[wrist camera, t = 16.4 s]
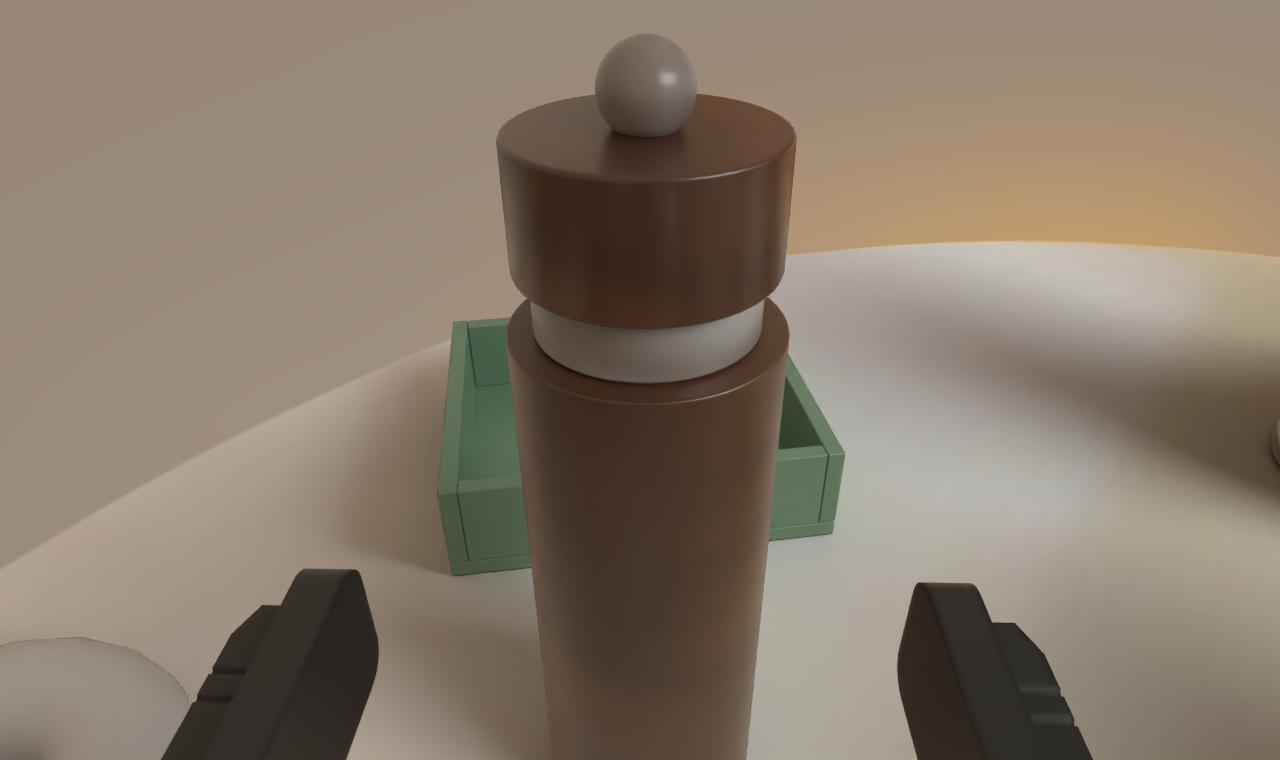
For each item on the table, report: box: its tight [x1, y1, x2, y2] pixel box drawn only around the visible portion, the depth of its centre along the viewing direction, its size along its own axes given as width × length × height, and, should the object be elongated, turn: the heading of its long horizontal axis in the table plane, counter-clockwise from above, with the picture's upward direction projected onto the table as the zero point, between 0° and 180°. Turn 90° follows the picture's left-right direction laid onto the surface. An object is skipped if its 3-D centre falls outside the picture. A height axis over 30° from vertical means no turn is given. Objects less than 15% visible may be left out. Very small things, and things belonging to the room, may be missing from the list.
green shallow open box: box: [437, 318, 845, 576], centre depth 32 cm, size 13×11×4 cm
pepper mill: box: [496, 34, 797, 760], centre depth 17 cm, size 5×5×18 cm
